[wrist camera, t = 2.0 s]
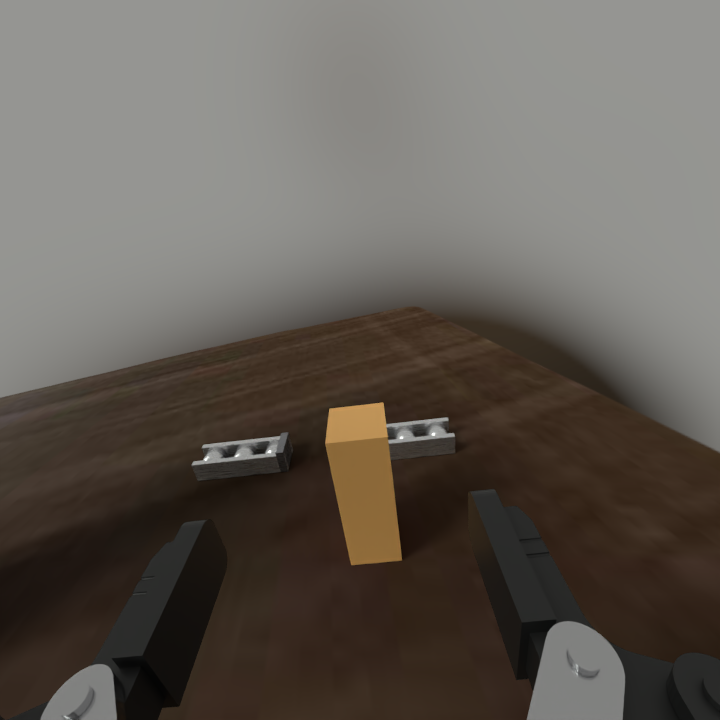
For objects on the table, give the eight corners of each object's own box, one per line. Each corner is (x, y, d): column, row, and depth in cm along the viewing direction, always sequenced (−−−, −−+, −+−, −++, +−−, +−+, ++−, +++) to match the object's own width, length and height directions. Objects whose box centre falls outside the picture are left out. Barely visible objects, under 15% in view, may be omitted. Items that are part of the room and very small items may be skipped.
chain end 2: (361, 463, 38) (358, 444, 37) (361, 442, 41) (358, 424, 40) (455, 453, 37) (454, 433, 36) (447, 433, 40) (447, 414, 39)
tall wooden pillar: (351, 565, 28) (325, 443, 22) (351, 516, 32) (329, 404, 27) (402, 560, 27) (387, 436, 22) (395, 512, 32) (382, 398, 26)
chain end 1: (198, 480, 38) (190, 462, 37) (209, 459, 42) (202, 442, 40) (287, 471, 38) (282, 452, 37) (293, 450, 41) (288, 432, 40)
